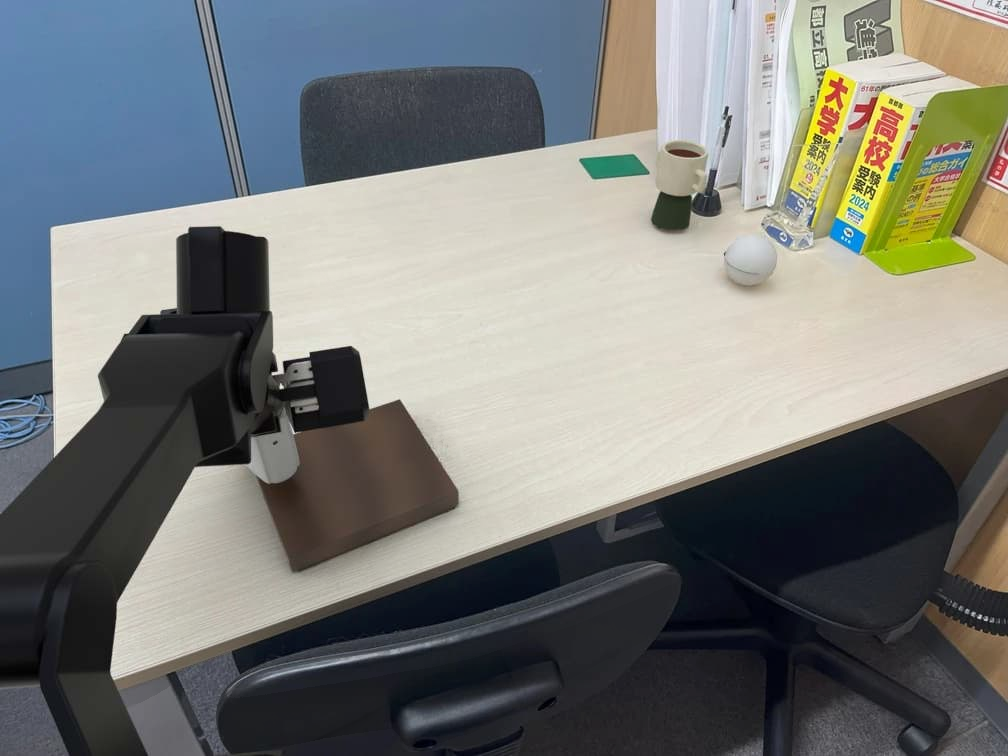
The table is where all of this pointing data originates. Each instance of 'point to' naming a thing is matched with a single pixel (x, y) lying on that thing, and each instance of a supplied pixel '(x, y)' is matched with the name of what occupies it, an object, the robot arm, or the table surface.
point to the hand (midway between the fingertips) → (257, 408)
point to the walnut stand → (357, 486)
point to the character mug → (678, 182)
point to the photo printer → (274, 454)
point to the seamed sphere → (750, 259)
